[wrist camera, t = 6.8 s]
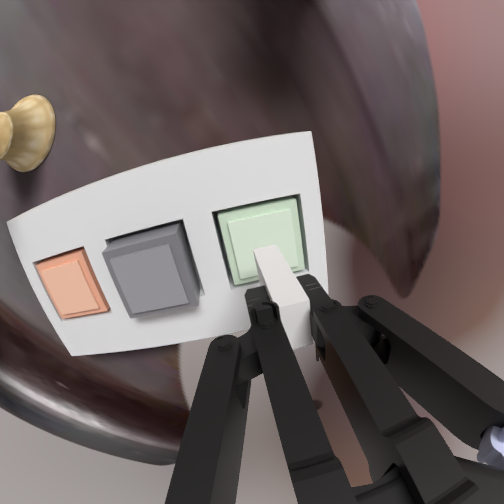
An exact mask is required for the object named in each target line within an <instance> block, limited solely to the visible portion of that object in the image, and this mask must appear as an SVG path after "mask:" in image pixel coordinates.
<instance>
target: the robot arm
mask: <svg viewBox="0 0 504 504" xmlns="http://www.w3.org/2000/svg"><path fill="white" fill-rule="evenodd" d="M253 253H254V258H255V263H256V268H257V273H258V278H259V283H260V286H259V287H255V288H251V289H247V290H246V293H245V295H244V296H245V300H246V304H247V309H248V314H249V318H250V322H251V327H250V329H249V330H248V332H247V333H245V334H244V335H242V336H240V337H238V338H237V337H235V336H233V335H222V336H219V337H217V338H215V339H214V340H213V341H212V342H211V344H210V346H209V348H208V352H207V355H206V359H205V362H204V365H203V369H202V373H201V376H200V379H199V382H198V386H197V389H196V393H195V396H194V400H193V403H192V407H191V410H190V414H189V417H188V421H187V424H186V428H185V431H184V435H183V438H182V442H181V446H180V449H179V453H178V456H177V460H176V464H175V467H174V471H173V475H172V478H171V482H170V486H169V489H168V493H167V497H166V501H165V504H235V502H236V495H237V487H238V480H239V473H240V466H241V458H242V450H243V443H244V435H245V426H246V420H247V411H248V403H249V395H250V387H251V379H253V378H255V377H257V376H258V375H260V374H262V373H263V374H264V378H265V382H266V386H267V390H268V394H269V397H270V402H271V405H272V409H273V413H274V417H275V421H276V424H277V428H278V432H279V436H280V440H281V443H282V447H283V451H284V454H285V458H286V462H287V465H288V469H289V473H290V477H291V480H292V483H293V487H294V491H295V494H296V498H297V501H298V504H504V381H503V380H502V379H501V378H499V377H498V376H496V375H495V374H494V373H492V372H491V371H489V370H488V369H487V368H485V367H484V366H483V365H481V364H480V363H478V362H477V361H475V360H474V359H473V358H471V357H470V356H468V355H467V354H465V353H464V352H462V351H461V350H460V349H458V348H457V347H455V346H454V345H452V344H451V343H450V342H448V341H447V340H445V339H444V338H442V337H441V336H439V335H438V334H436V333H435V332H433V331H432V330H430V329H429V328H427V327H426V326H424V325H423V324H421V323H420V322H418V321H417V320H415V319H414V318H412V317H410V316H409V315H408V314H406V313H404V312H403V311H401V310H400V309H399V308H397V307H395V306H394V305H392V304H391V303H389V302H388V301H386V300H385V299H383V298H381V297H379V296H375V295H369V296H365V297H362V298H361V299H360V300H359V302H358V305H357V306H342V305H341V304H340V303H339V302H338V301H336V300H333V299H331V298H330V297H329V296H328V294H327V293H326V291H325V290H324V289H323V287H322V286H321V285H320V283H319V282H318V280H317V279H316V278H315V277H314V276H312V275H310V274H305V275H301V276H297V277H296V276H295V275H294V273H293V271H292V270H291V268H290V267H289V265H288V263H287V262H286V260H285V258H284V257H283V255H282V254H281V252H280V250H279V249H278V247H277V245H276V244H275V245H270V246H266V247H262V248H257V249H253ZM382 334H383V335H384V336H383V335H382ZM312 337H313V339H314V341H315V344H316V360H317V361H319V358H320V360H321V362H322V364H323V366H324V368H325V370H326V373H327V375H328V377H329V379H330V381H331V383H332V385H333V387H334V389H335V392H336V394H337V396H338V398H339V400H340V402H341V404H342V406H343V409H344V411H345V413H346V415H347V417H348V419H349V421H350V423H351V425H352V428H353V430H354V432H355V434H356V437H357V439H358V441H359V443H360V445H361V447H362V450H363V452H364V454H365V456H366V458H367V461H368V464H369V471H370V476H371V479H372V481H373V484H368V485H363V486H358V487H351V486H350V483H349V481H348V478H347V476H346V474H345V471H344V468H343V466H342V464H341V462H340V460H339V459H338V458H337V457H336V456H335V455H334V453H333V450H332V448H331V445H330V443H329V441H328V438H327V435H326V433H325V430H324V428H323V425H322V423H321V420H320V417H319V415H318V413H317V410H316V407H315V405H314V402H313V400H312V398H311V395H310V392H309V390H308V387H307V385H306V382H305V380H304V377H303V375H302V372H301V369H300V367H299V364H298V362H297V360H296V357H295V354H294V352H293V350H294V349H297V348H301V347H304V346H308V345H311V344H313V339H312ZM399 387H401V388H402V389H403V390H404V391H405V392H406V393H407V394H408V395H409V396H411V397H412V398H413V399H414V400H415V401H416V402H418V404H420V405H421V406H422V407H423V408H424V409H425V410H427V411H428V412H429V413H430V414H431V415H432V416H433V417H434V418H435V419H437V420H438V421H439V422H440V423H441V424H442V425H443V426H444V427H446V428H447V429H448V430H449V431H450V432H451V433H452V434H453V435H455V436H456V437H457V438H458V439H460V440H461V441H462V442H464V443H465V444H467V445H469V446H471V447H472V448H475V449H477V450H479V452H478V454H477V460H478V461H479V462H480V463H479V462H474V461H471V460H467V459H463V458H460V457H456V456H454V455H453V453H452V452H451V450H450V449H449V447H448V445H447V444H446V443H445V440H444V439H443V437H442V436H441V434H440V433H439V431H438V429H437V428H436V426H435V425H434V423H433V422H432V421H431V420H430V419H428V418H425V417H424V418H421V417H419V416H418V415H417V414H416V412H415V411H414V409H413V408H412V406H411V405H410V403H409V402H408V400H407V398H406V397H405V395H404V394H403V392H402V391H401V389H400V388H399ZM484 462H486V463H487V464H488V465H487V464H482V463H484Z"/></svg>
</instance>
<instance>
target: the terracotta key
mask: <svg viewBox="0 0 504 504" xmlns="http://www.w3.org/2000/svg"><path fill="white" fill-rule="evenodd" d="M36 267H37V269H38V272H39V274H40V276H41V278H42V281H43V283H44V285H45V287H46V289H47V291H48V293H49V295H50V297H51V299H52V301H53V303H54V305H55V307H56V309H57V311H58V312H59V314H60V316H61V318H62V319H64V318H70V317H76V316H82V315H88V314H93V313H99V312H105V311H108V309H109V307H110V306H109V304H108V302H107V300H106V298H105V295H104V293H103V291H102V289H101V287H100V284H99V282H98V280H97V278H96V275H95V273H94V271H93V268H92V266H91V263H90V261H89V258H88V256H87V253H86V251H85V248H84V246H82V247H79V248H75V249H72V250H69V251H66V252H63V253H60V254H57V255H53V256H50V257H47V258H44V259H43V260H42V261H41V262H40V263H39V264H38V265H36Z"/></svg>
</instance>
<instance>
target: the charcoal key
mask: <svg viewBox="0 0 504 504" xmlns="http://www.w3.org/2000/svg"><path fill="white" fill-rule="evenodd" d="M102 255H103V258H104V260H105V263H106V265H107V268H108V270H109V273H110V275H111V278H112V280H113V282H114V285H115V287H116V289H117V291H118V294H119V296H120V298H121V300H122V302H123V305H124V307H125V309H126V311H127V313H128V315H129V317H130V319H131V318H137V317H142V316H148V315H153V314H159V313H164V312H169V311H175V310H180V309H185V308H190V307H195V306H199V294H200V285H199V281H198V278H197V275H196V272H195V269H194V265H193V262H192V259H191V255H190V252H189V249H188V245H187V242H186V238H185V235H184V231H183V228H182V224H181V221H180V222H176V223H172V224H168V225H164V226H160V227H156V228H152V229H148V230H145V231H141V232H137V233H133V234H130V235H126V236H123V237H119V238H115V239H114V240H113V241H112V242H111V243H110V244H109V245H108V246H107V247H106V248H105V250H104V251H103V252H102Z"/></svg>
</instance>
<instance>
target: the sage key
mask: <svg viewBox="0 0 504 504" xmlns="http://www.w3.org/2000/svg"><path fill="white" fill-rule="evenodd" d="M218 219H219V223H220V227H221V232H222V236H223V240H224V244H225V248H226V252H227V256H228V260H229V264H230V269H231V273H232V277H233V280H234V284H235V285H238V284H243V283H247V282H252V281H256V280H259V278H258V273H257V268H256V263H255V258H254V253H253V249H257V248H262V247H266V246H270V245H275V244H276V245H277V247H278V249H279V250H280V252H281V254H282V255H283V257H284V258H285V260H286V262H287V263H288V265H289V267H290V268H291V270H292V271H293V272H295V271H299V270H303V269H305V265H304V256H303V248H302V240H301V232H300V224H299V216H298V209H297V202H296V199H295V198H293V197H292V196H291V195H289V196H284V197H279V198H274V199H269V200H264V201H259V202H254V203H249V204H245V205H240V206H236V207H231V208H227V209H222V210H218Z"/></svg>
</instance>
